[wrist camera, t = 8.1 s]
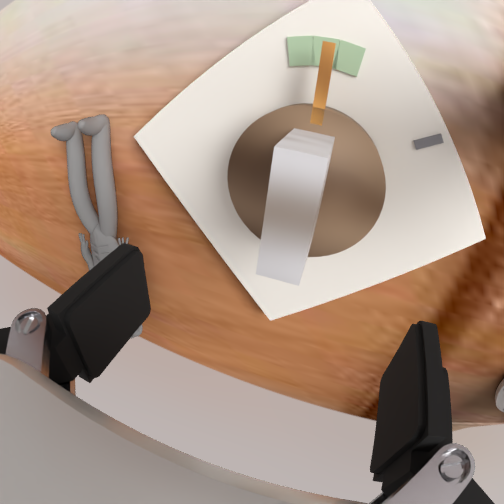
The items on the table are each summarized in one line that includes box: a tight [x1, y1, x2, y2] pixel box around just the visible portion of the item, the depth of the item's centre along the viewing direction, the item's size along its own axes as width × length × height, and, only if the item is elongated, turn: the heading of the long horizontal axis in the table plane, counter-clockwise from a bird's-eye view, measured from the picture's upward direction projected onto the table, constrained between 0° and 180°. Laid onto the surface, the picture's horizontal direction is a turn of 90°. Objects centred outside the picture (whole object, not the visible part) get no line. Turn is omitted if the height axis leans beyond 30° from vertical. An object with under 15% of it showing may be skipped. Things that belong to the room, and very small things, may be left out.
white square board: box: [134, 0, 486, 321], centre depth 21 cm, size 20×20×2 cm
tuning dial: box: [227, 41, 386, 286], centre depth 17 cm, size 14×10×7 cm
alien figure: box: [51, 115, 148, 338], centre depth 30 cm, size 8×5×25 cm
